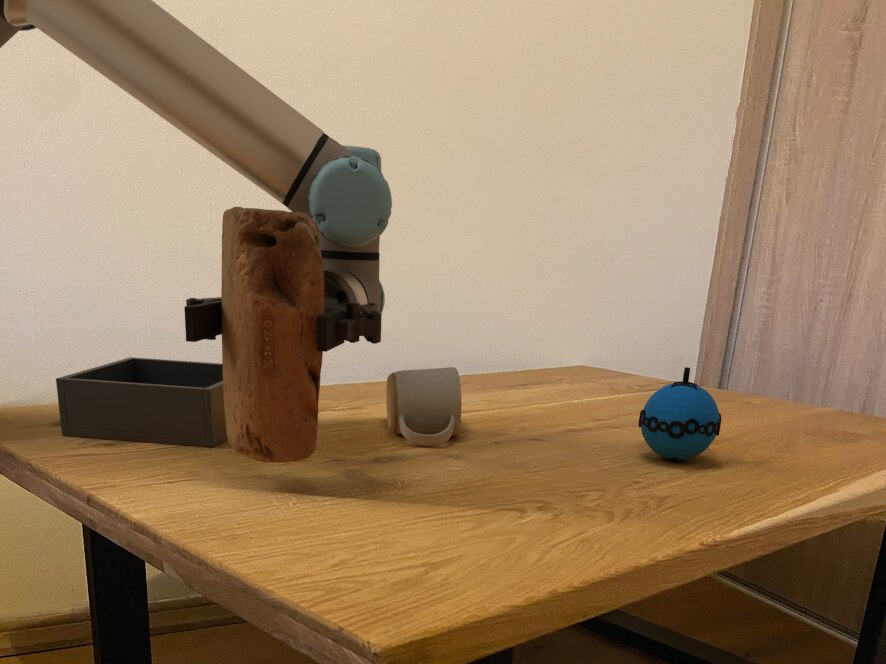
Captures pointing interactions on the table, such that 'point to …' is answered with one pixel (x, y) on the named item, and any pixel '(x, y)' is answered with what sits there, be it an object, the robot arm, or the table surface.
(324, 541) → the table surface
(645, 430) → the ornament
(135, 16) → the robot arm
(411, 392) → the ceramic mug
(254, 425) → the block
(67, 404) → the bin
